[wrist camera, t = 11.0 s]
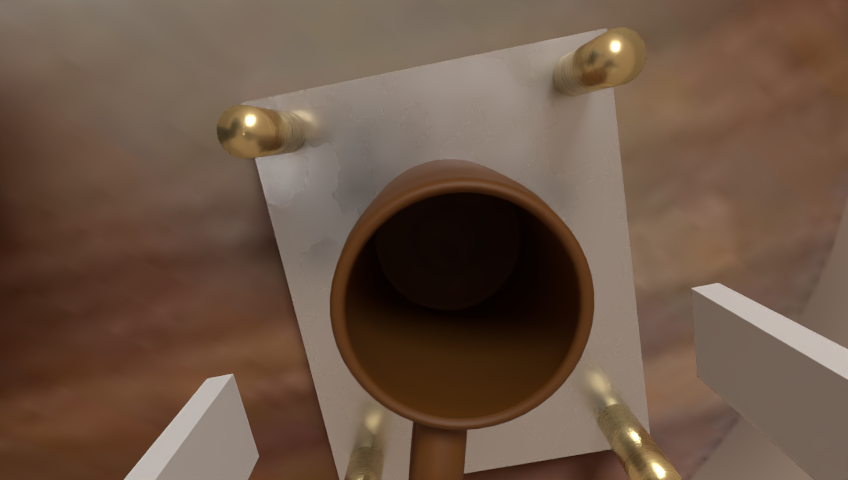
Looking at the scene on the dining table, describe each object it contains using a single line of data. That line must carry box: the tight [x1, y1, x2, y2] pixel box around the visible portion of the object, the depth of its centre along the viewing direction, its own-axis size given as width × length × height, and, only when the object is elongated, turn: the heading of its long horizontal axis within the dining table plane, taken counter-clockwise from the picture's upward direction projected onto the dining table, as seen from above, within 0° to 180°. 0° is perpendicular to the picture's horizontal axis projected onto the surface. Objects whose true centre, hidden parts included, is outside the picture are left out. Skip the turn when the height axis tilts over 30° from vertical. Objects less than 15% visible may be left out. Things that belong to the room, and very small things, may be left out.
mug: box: [330, 159, 594, 480], centre depth 18 cm, size 12×8×9 cm, turn 174°
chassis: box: [217, 27, 683, 480], centre depth 21 cm, size 16×20×6 cm
